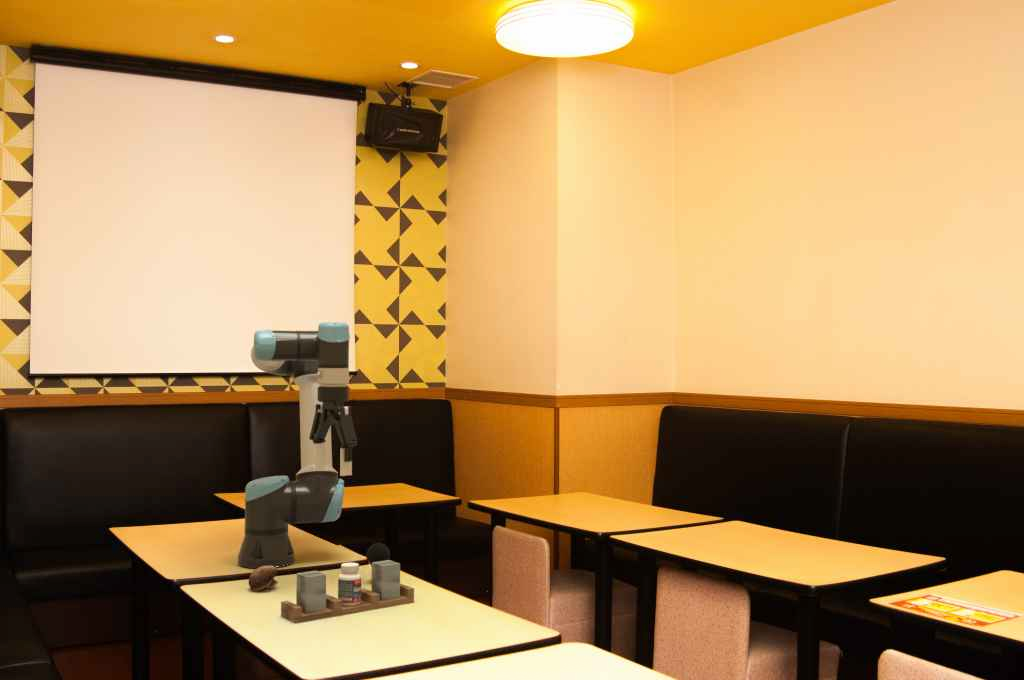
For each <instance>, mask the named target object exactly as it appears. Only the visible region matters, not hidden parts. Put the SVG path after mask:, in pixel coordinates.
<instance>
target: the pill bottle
mask: <svg viewBox="0 0 1024 680" xmlns="http://www.w3.org/2000/svg"><path fill="white" fill-rule="evenodd" d="M359 569H360V564H359V563H356V562H344V563H341V564H340V571H341V573H339V574H338V578H337V599H340V600H342V606H355V605H359V604H360V603H361V589H362V574H361V573H360V572H359Z"/></svg>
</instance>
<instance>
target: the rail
mask: <svg viewBox="0 0 1024 680" xmlns="http://www.w3.org/2000/svg"><path fill="white" fill-rule="evenodd" d="M370 586H371V590H370V589H367V588H365V587H361V603H360V604H359V605H355V606H342V600H340V599H338V597H337V598H336V597H335V596H333V595H330V594H328V593H327V574H326V573H323V572H321V571H318V570H311V571H303V572H297V573H296V589H295V590H296V594H295V595H296V596H295V597H296V599H295V600H296V603H294V602H291V601H290V600H284V601H281V602H280V617H282V618H283V619H285V620H288V621H290V622H291V623H294V624H299V623H305V622H309V621H316V620H323V619H327V618H332V617H334V618H335V617H338V616H344V615H350V614H356V613H360V612H367V611H372V610H378V609H384V608H389V607H390V608H391V607H396V606H399V605H400V606H401V605H406V604H411V603H415V588H413V587H411V586H409V585H405V584H402V583H401V563H400V562H398V561H397V562H396V561H394V560H391V559H389V560H386V561H379V562H372V567H371V585H370Z"/></svg>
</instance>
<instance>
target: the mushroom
mask: <svg viewBox="0 0 1024 680" xmlns="http://www.w3.org/2000/svg"><path fill="white" fill-rule="evenodd" d="M277 574H278V567H274V566H262V567H259V568H255V569H254V570H253V571H252V572H251V574H250V575H249V577H248V586H249V588H250V589H251V590H252V591H254V592H258V591H261V590H262V589H267V590H269V589H271V588H273V587H274V586H276V585H277V584H278V583H279V581H277V580H276V579H275V577H276V575H277Z"/></svg>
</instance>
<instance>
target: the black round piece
mask: <svg viewBox="0 0 1024 680" xmlns="http://www.w3.org/2000/svg"><path fill="white" fill-rule="evenodd" d="M390 557H391V552H390V549H389V547H388V546H387V545H386V544H385V543H382V542H377V543H372V544H371V545H370V546H369V547H368V549H367V551H366V560H367V562H368V563H369V564H370V566H371V568H372V562H379V561H386V560H390Z"/></svg>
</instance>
